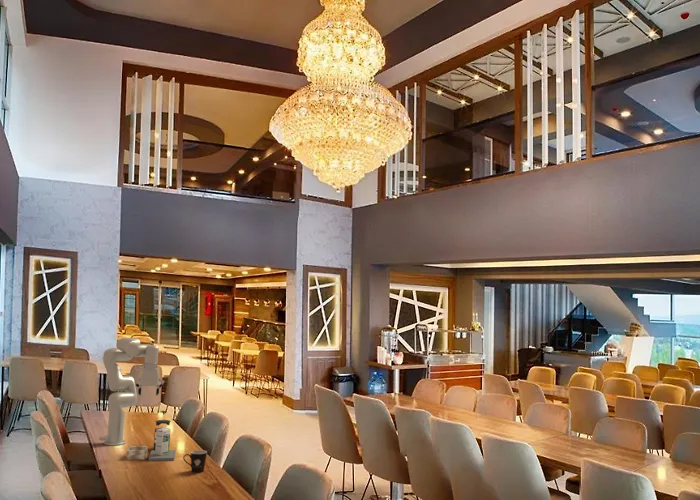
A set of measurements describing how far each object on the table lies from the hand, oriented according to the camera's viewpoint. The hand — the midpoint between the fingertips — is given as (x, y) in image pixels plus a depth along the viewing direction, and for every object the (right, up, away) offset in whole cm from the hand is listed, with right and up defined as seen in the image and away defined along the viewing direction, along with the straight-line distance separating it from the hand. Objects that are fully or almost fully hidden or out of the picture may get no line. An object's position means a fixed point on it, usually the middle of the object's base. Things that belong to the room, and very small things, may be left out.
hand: (148, 395), depth 346 cm
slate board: (+11, -34, -8) cm, 37 cm away
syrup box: (+10, -33, -8) cm, 35 cm away
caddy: (-3, -33, -11) cm, 35 cm away
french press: (+4, -36, +10) cm, 38 cm away
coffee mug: (+37, -33, -33) cm, 59 cm away
